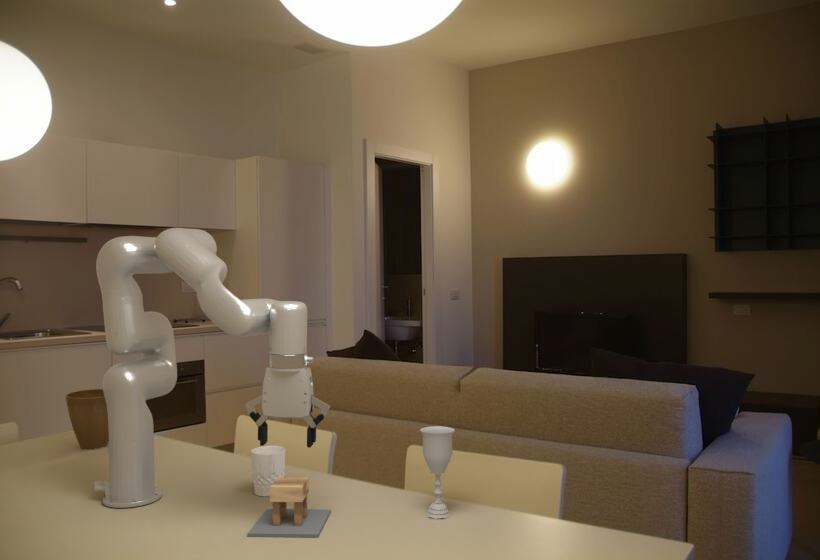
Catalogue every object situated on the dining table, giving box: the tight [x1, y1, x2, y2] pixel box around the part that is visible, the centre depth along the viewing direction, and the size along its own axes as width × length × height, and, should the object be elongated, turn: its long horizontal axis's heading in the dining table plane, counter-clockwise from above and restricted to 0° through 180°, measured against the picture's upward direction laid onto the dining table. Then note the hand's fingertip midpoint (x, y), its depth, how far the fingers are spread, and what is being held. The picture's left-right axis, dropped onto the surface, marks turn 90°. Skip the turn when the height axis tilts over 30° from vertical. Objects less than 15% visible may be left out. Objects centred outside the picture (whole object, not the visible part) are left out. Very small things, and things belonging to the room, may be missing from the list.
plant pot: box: [65, 388, 109, 450], centre depth 209 cm, size 15×15×16 cm
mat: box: [246, 508, 332, 538], centre depth 143 cm, size 14×14×1 cm
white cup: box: [250, 445, 286, 497], centre depth 164 cm, size 8×8×10 cm
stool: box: [269, 476, 310, 526], centre depth 143 cm, size 6×6×8 cm
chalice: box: [420, 425, 455, 518], centre depth 147 cm, size 7×7×18 cm
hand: (286, 444), depth 143 cm, fingers open, 9 cm apart
